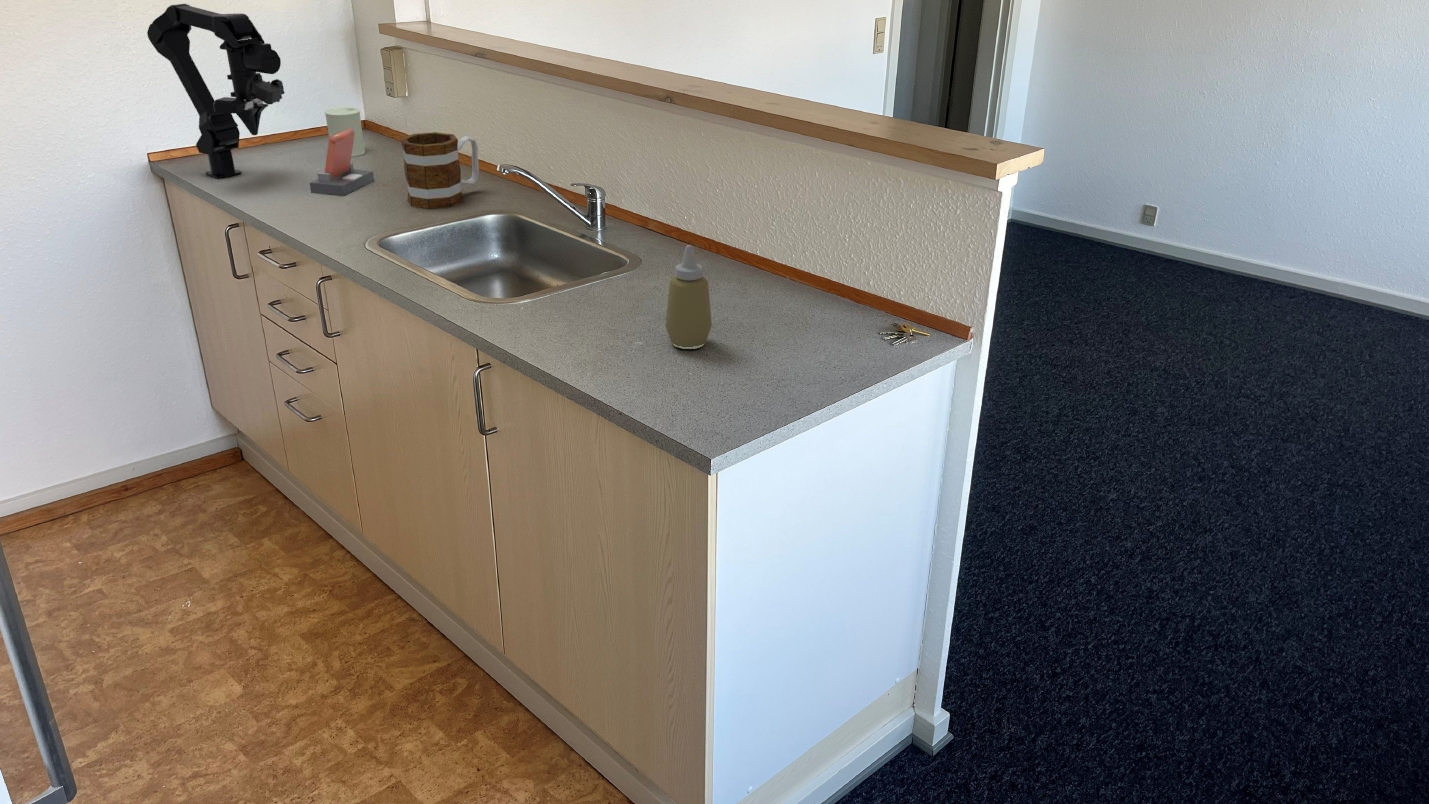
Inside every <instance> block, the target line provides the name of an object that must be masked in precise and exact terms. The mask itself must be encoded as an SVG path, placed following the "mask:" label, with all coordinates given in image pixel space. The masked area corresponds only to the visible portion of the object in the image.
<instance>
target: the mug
mask: <svg viewBox="0 0 1429 804" xmlns="http://www.w3.org/2000/svg"><path fill="white" fill-rule="evenodd" d="M468 141H469V142H470V144H471V145H470V146H471V167H472V169H471V170H472V171H471V172H472V174H471V177H470V178H469V179H467V180H466V179H461V175H462V174H461V173H462V172H461V166H460V165H461V164H460V161H459V151H461V150H462V149H463V147H464V145H465V144H466V143H467V142H468ZM400 142H401V146H402V151H403V161H404V162H403V163H404V164H403V169H404V174H405V179H406V186H407V202H408V204H409V206H410V207H412V208H418V209H424V210H436V209H437V210H438V209H447V208H453V207H455V206H457V205H459V204H461V203H464V197H463V193H462V185H465V186H467V185H469V186H471V185H473V184H474V183H476V182H477V181H478V177H479V173H480V172H479V171H480V169H479V146H478V144H477V141H476V139H475V138H474V137H471V136H468V135H465V136H463V137H461V138H460V139H458V138H457V137H456V136H455V134H453V133H446V132H445V133H444V132H438V131H437V132H436V131H434V132H424V133H423V132H422V133H420V132H419V133H412V134H408V135H407V136H404V137H401V138H400Z"/></svg>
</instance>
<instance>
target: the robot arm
mask: <svg viewBox="0 0 1429 804" xmlns="http://www.w3.org/2000/svg"><path fill="white" fill-rule="evenodd" d="M192 27H195V28H198V29H202V30H206V31H208V32H209V31H210V32H212V33H213V34H214V36H215V37H216V38H217V39H221V40H222V41H223V42H222V43H221V44H220V45H219V49H220V50H225V51H226V54H227V55H226V56H227V60H228V66H229V71H230V74H226V77H227V80H230V81H231V82H232V83H231V84H232V88H233V89H232V90H233V91H231V92H230V97H228V96H223V97H221V98H217V99H214V97H213V95H212V93H211V91H210V89H209V87H208V85H207V84H206V82H205V80H204V78H203V76H202V74H201V73H200V70H199V69H198V67H197V65H196V63H195V61H194V59H193V58H192V56H191V54H190V47H191V40H190V38H189V34H190V32H191V30H192ZM146 34H147V39H148V40H149V42H150V43H151V45H152V46H153V48H154V49H155V50H156V52H157V53H158V54H159V55H161V56H162V57H164V58H165V59H166V60H168V61H169V62H170V64H171V66H172V68H173V70H174V71H175V73H176V75H177V77H178V79H179V81H180V82H181V84H182V86H183V88H184V89H185V92H186V93H187V95H188V97H189V99H190V101H191V103H192V104H193V107H194V109H195V110H196V112H197V114H198V117H199V118H198V119H199V120H198V130H199V132H200V136H199V139H198V140H197V141H196V143H195V146H196V149H197V151H198V153H200V154H204V155H207V158H208V164H209V168H210V171H205V174H206V175H207V176H210V177H213V178H216V179H223V178H228V177H231V176H232V177H233V176H237V175H242V171H240V170H237V169H236V168H235V163H234V157H233V152H232V150H234V149H239V148H240V147H239V146H240V130H239V125H238V123H237V122H236V120H235V119H234V116H233V114H236V115H237V117H238V118H239V119H240V120H241V122H242V123H243V125H244V126H245V127H246V129H247V130H248V131H249V133H250V134H251V135H252V136H257V135H258V133H259V127H260V120H261V116H262V112H263V111H264V110H265V109H266V108H267V107H269V105H273V104H274V103H279V102H280V101H281V100H282V99H283V96H282V95H284V94H285V91H284V90H285V87H284V83H283V80H281V79H277V78H275V79H273V80H272V81H265V80H263V75H261V74H266V75H274V74H277V73H278V71H279V70H280V68H281V64H282V63H281V57H280V55H279V54H278V52H277V51H276V50H274V49H273V48H272V44H271V43H268V42H267V43H265V40H264V39H263V36H262V35H261V33H259V31H258V29H257V27H256V26H255V25H254V23H253V22H252V20H251V19H250V17H249V16H248V15H247V14H245V13H219V12H215V11H210V10H208V9H203V8H198V7H196V6H192V5H190V4H187V3H179V4H178V3H176V4H171V5H169V6H167V8H166V9H165V11H164V12H163V13H161V15H159V16H158V17H156V18H155V19H154V20H152V22H151V23H150V24H149V26H148V29H147V33H146Z"/></svg>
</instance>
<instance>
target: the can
mask: <svg viewBox="0 0 1429 804" xmlns="http://www.w3.org/2000/svg"><path fill="white" fill-rule="evenodd" d="M324 115H325V119H326V120H325V121H326V127H327V132H328V133H327V134H328V138H330V137H331V136H334V135H336V134H339V133H341V132H344V131H346V130H348V129H352V130H353V131H354V133H355V135H354V142H353V149H352V156H351V158H354V157H355V158H356V157H359V156H362V155H364V154H366V148H365V143H364V136H363V135H364V134H363V130H362V129H363V128H362V122H361V120H362V119H361V111H360V109H359V108H356V107H334V108H329V109H326V110H325V111H324Z"/></svg>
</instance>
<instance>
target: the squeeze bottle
mask: <svg viewBox="0 0 1429 804" xmlns="http://www.w3.org/2000/svg"><path fill="white" fill-rule="evenodd" d="M695 255H696V254H695V251H694V246H693V245H691V244H687V245H686V246H685V249H684V253H683V256H682V260H681V263H678V264H677V265H676V266H675V267H674V268H675V270H674V272H675V273H674V276H673V277H672V278H671V279H670V281H669V287H668V295H667V296H668V297H667V303H666V304H667V305H666V306H667V307H666V315H665V325H664V326H665V329H666V332H667V334H668V338H669V341H670V343H671V342H672V343H673V344H675V345H677V346H682V347H693V346H699V345H702V344H704V343H705V342H707V340H708V337H709V334H710V332H711V329H712V325H713V324H712V313H711V301H710V300H711V299H710V290H709V281H708V279H707V278H705V277H704V276H703V275H704V273H703V272H704V271H703V270H704V267H703V265H701V264H700V263H697V260H696V256H695ZM672 343H671V344H672ZM705 344H706V343H705Z"/></svg>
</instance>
